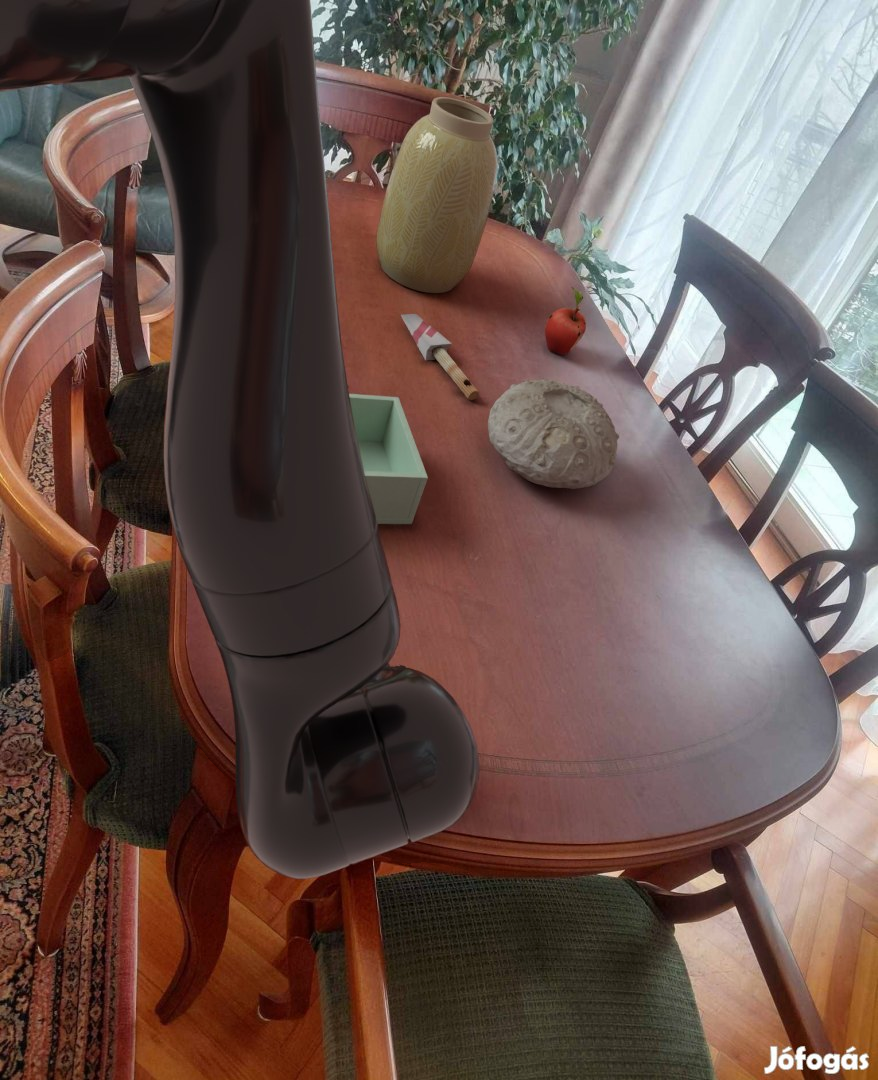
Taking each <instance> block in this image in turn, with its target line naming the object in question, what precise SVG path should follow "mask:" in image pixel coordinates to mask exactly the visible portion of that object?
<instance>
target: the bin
mask: <svg viewBox="0 0 878 1080" xmlns="http://www.w3.org/2000/svg"><path fill="white" fill-rule="evenodd" d="M349 397H350V403H351V408H352V414H353V420H354V425H355V431H356V436H357V441H358V445H359V450H360V455H361V459H362V464H363V469H364V474H365V478H366V482H367V485H368V489H369V493H370V497H371V500H372V504H373V508H374V512H375V515H376V520H377V524H378V525H412V524H413V522H414V518H415V516H416V513H417V510H418V507H419V504H420V502H421V500H422V497H423V493H424V490H425V488H426V485H427V482H428V479H429V477H428V474H427V471H426V469H425V466H424V463H423V460H422V458H421V454H420V452H419V449H418V447H417V444H416V441H415V439H414V436H413V433H412V429H411V427H410V424H409V422H408V419H407V417H406V414H405V411H404V408H403V406H402V403H401V400H400V398H399V396H387V395H386V396H385V395H375V394H374V395H372V394H359V393H349Z"/></svg>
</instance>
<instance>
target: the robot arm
mask: <svg viewBox="0 0 878 1080" xmlns="http://www.w3.org/2000/svg"><path fill="white" fill-rule="evenodd" d="M312 17H313V16H312V3H311V0H0V93H4V92H9V91H16V90H20V89H21V90H22V89H30V88H37V87H43V86H44V87H45V86H49V85H53V86H58V85H60V86H61V85H69V84H79V83H89V82H98V81H99V82H100V81H108V80H109V81H110V80H117V79H127V78H128V79H129V82H130V83H131V86H132V88H133V91H134V94H135V96H136V98H137V100H138V103H139V106H140V108H141V111H142V113H143V116H144V118H145V121H146V124H147V126H148V130H149V133H150V135H151V137H152V140H153V142H154V147H155V150H156V153H157V156H158V159H159V163H160V168H161V173H162V176H163V180H164V184H165V188H166V194H167V200H168V206H169V210H170V217H171V225H172V235H173V244H174V246H173V247H174V279H175V280H174V283H175V284H174V286H175V287H174V289H175V290H174V293H175V294H174V309H173V325H172V326H173V327H172V341H171V351H170V352H171V353H170V362H169V372H168V381H167V390H166V401H165V414H164V423H163V449H162V450H163V451H162V454H163V477H164V485H165V494H166V501H167V506H168V511H169V517H170V522H171V527H172V531H173V534H174V536H175V540H176V543H177V546H178V549H179V552H180V555H181V558H182V560H183V563H184V565H185V567H186V570H187V573H188V575H189V578H190V580H191V583H192V586H193V588H194V590H195V593H196V596H197V598H198V600H199V603H200V606H201V609H202V611H203V613H204V616H205V618H206V621H207V623H208V626H209V629H210V631H211V633H212V636H213V638H214V641H215V645H216V646H217V649H218V652H219V654H220V658H221V660H222V663H223V664H222V665H223V667H224V671H225V674H226V678H227V682H228V686H229V692H230V697H231V704H232V712H233V721H234V722H233V723H234V734H235V738H234V739H235V740H234V741H235V758H234V759H235V761H234V762H235V794H236V795H235V797H236V807H237V815H238V821H239V826H240V828H241V832H242V835H243V837H244V840H245V842H246V844H247V846H248V848H249V849H250V851H251V853H252V855H254V856H255V858H256V859H258V861H259V862H260V863H262V864H263V866H265V867H266V868H268V869H270V870H271V871H273V872H274V873H276V874H278V875H281V876H283V877H285V878H290V879H294V880H308V879H314V878H319V877H322V876H326V875H328V874H331V873H333V872H337V871H340V870H341V869H345V868H347V867H349V866H351V865H352V866H353V865H356V864H359V863H361V862H363V861H367V860H369V859H372V858H374V857H377V856H380V855H382V854H385V853H388V852H390V851H393V850H396V849H399V848H401V847H404V846H407V845H409V842H411V843H415V842H419V841H421V840H424V839H427V838H430V837H432V836H435V835H438V834H439V833H442V832H443V831H445V830H447V829H449V828H450V827H452V826H453V825H454V824H456V823H457V822H458V821H459V820H460V819H462V818H463V816H464V815H465V814H466V812H467V811H468V809H469V808H470V806H471V804H472V802H473V800H474V798H475V797H476V793H477V789H478V785H479V779H480V772H481V771H480V770H481V768H480V767H481V766H480V756H479V749H478V745H477V740H476V738H475V735H474V732H473V729H472V727H471V724H470V722H469V720H468V717H467V716H466V714H465V713H464V711H463V709H462V708H461V706H460V705H459V703H458V702H457V701H456V699H455V698H454V697H453V696H452V695H451V693H450V692H449V691H448V690H447V689H446V688H445V687H444V686H443V685H442V684H440V683H439V682H438V681H437V680H435V679H434V678H433V677H432V676H430V675H428V674H426V673H425V672H422V671H420V670H417V669H414V668H411V667H407V666H406V665H404V664H403V665H402V664H399V665H395V666H391V665H390V662H391V660H392V659H393V657H394V655H395V654H396V651H397V649H398V647H399V643H400V638H401V618H400V617H401V616H400V612H399V610H400V609H399V606H398V601H397V597H396V593H395V589H394V586H393V581H392V578H391V577H392V576H391V573H390V572H391V571H390V569H389V565H388V560H387V555H386V552H385V549H384V545H383V539H382V536H381V531H380V528H379V524H377V520H376V515H375V512H374V508H373V504H372V500H371V497H370V493H369V489H368V485H367V482H366V478H365V474H364V469H363V464H362V459H361V455H360V450H359V445H358V441H357V436H356V431H355V425H354V420H353V414H352V408H351V403H350V397H349V394H350V391H349V385H348V379H347V373H346V365H345V360H344V353H343V345H342V337H341V326H340V325H341V324H340V316H339V315H340V314H339V306H338V297H337V295H338V294H337V286H336V275H335V264H334V254H333V244H332V232H331V219H330V207H329V198H328V187H327V178H326V177H327V176H326V167H325V166H326V165H325V157H324V146H323V136H322V135H323V134H322V126H321V125H322V124H321V117H320V116H321V115H320V106H319V105H320V104H319V92H318V79H317V68H316V66H317V65H316V56H315V55H316V54H315V41H314V30H313V19H312Z"/></svg>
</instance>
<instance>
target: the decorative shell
mask: <svg viewBox="0 0 878 1080" xmlns="http://www.w3.org/2000/svg"><path fill="white" fill-rule="evenodd" d="M509 387H510V388H508V389H507V390H505V391H504V393H502V394H501V395H500V397H499V398H498V399H496V400H495V402H494V404H493V405H492V407H491V408H490V410H489V416H488V420H487V429H488V438H489V442H490V444H491V445H492V446H493V447H494V449H495V450H496V451H497V452H498V454H499V455H500V457H501V458H502V459H503V460H504V462H505V464H506V465H507V467H508V468H509V469H510V470H511V471H512V472H514V473H516V474H518V475H520V477H522V478H523V479H525V480H527V481H528V482H530V483H533V484H536V485H540V486H544V487H548V488H552V489H553V488H558V489H561V488H564V489H571V490H576V489H581V488H588V487H591V486H594V485H597V484H598V483H599V482H601V481H603V480H604V479H605V478H607V477H608V476H609V475H610V474H611V473H612V469H613V467H614V465H615V461H616V459H617V451H618V445H619V444H618V440H619V439H620V434H618V433H617V432H616V427H615V425H614V423H613V420H612V418H611V417H610V415H609V413H608V412H607V411H606V409H605V408H604V405H603V403H600V402H599V400H598V399H597V397H594V396H593V395H592V394H590V393H589V392H587V391H585V390H584V389H581V388H580V386H579V385H575V386H574V385H572V384H566V383H565V382H559V381H557V380H553V379H545V378H542V379H533V380H529V379H526V380H525V381H522V382H520V383H519V384H515V383H512V384H511V385H510V386H509Z"/></svg>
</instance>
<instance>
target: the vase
mask: <svg viewBox="0 0 878 1080" xmlns="http://www.w3.org/2000/svg"><path fill="white" fill-rule="evenodd" d="M493 124H494V118H493V116H492V115H491V114H490V113H489V112H487V111H486V110H484V109H482V108H481V107H479V106H476V105H474V104H472V103H470V102H467V101H464V100H462V99H458V98H453V97H448V96H447V97H446V96H439V97H438V96H437V97H434V98H433V100H432V102H431V107H430V112H429V113H428V114H426V115H424V116H422V117H420V119H418V120H417V121H416V122H415V123H414V124H413V125H412V126H411V127H410V129H409V130H408V131H407V133H406V135H405V136H404V139H403V141H402V143H401V146H400V148H399V150H398V152H397V156H396V158H395V161H394V164H393V167H392V170H391V173H390V177H389V180H388V182H387V183H388V184H387V186H386V190H385V194H384V198H383V202H382V206H381V209H380V210H381V211H380V215H379V220H378V225H377V231H376V240H375V242H376V243H375V244H376V245H375V246H376V252H377V256H378V261H379V264H380V267H381V269H382V271H383V272H384V273H385V274H386V276H388V277H389V278H390V279H391V280H393V281H394V282H396V283H398V284H399V285H402V286H404V287H405V288H408V289H411V290H414V291H417V292H422V293H427V294H442V293H447V292H450V291H452V290H453V289H455V287H456V286H458V285H459V284H460V283H461V282H462V281H463V279H464V278H465V277H466V276H467V275H468V273H469V271H470V270H471V268H472V266H473V263H474V262H475V261H474V260H475V258H476V255H477V254H478V250H479V247H480V245H481V242H482V238H483V235H484V232H485V228H486V225H487V222H488V218H489V214H490V210H491V206H492V202H493V197H494V194H495V188H496V183H497V176H498V166H499V164H498V161H499V160H498V153H497V149H496V148H497V147H496V145H495V142H494V140H493V138H492V136H491V130H492V127H493Z"/></svg>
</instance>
